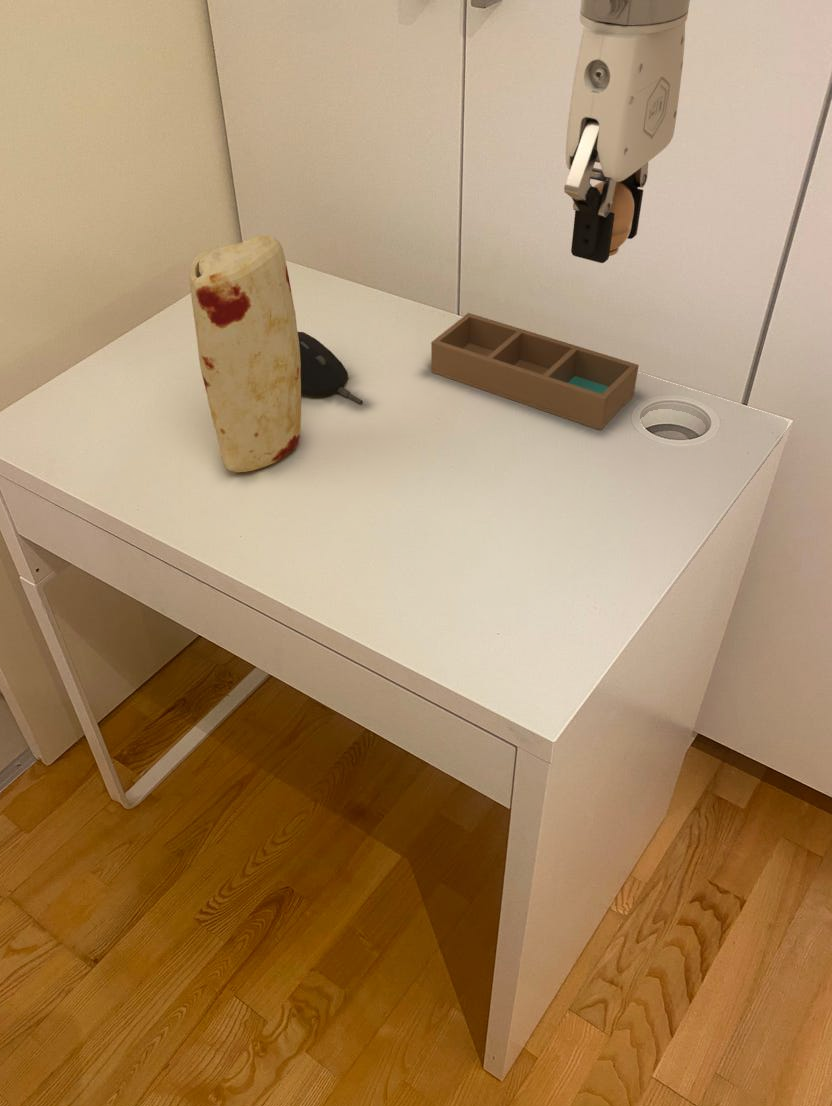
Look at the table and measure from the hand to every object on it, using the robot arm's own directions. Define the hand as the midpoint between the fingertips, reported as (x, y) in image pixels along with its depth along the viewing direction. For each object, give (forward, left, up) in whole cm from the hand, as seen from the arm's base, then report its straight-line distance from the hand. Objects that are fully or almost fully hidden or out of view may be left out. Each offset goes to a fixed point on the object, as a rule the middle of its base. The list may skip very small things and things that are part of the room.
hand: (604, 243), depth 83 cm
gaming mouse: (+28, +1, -16) cm, 32 cm away
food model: (+28, +14, -16) cm, 35 cm away
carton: (+6, -2, -16) cm, 17 cm away
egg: (0, 0, -1) cm, 1 cm away
